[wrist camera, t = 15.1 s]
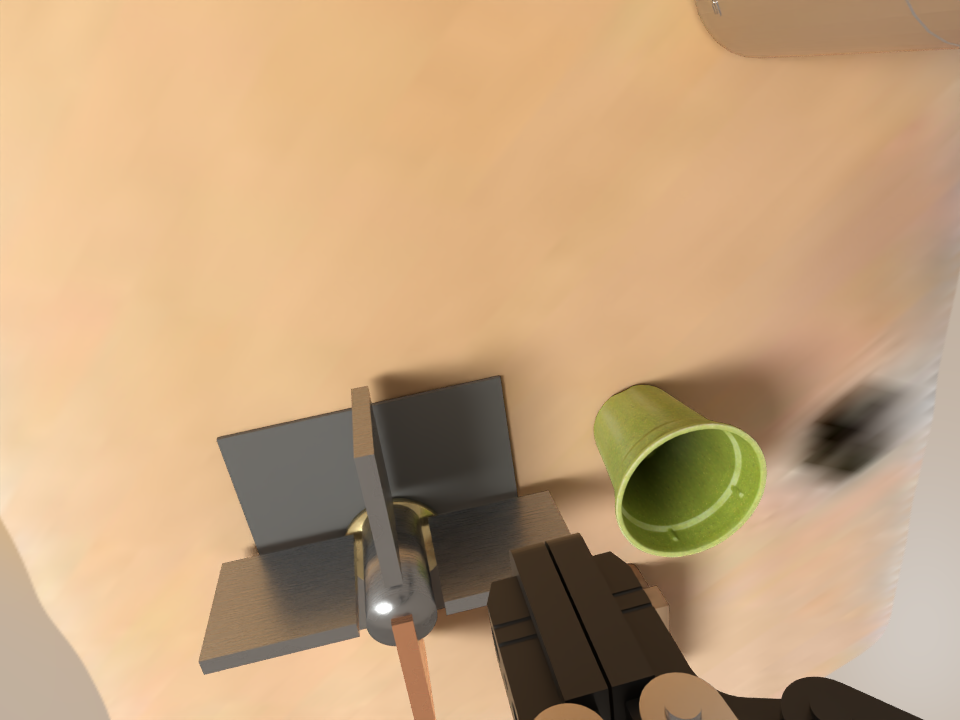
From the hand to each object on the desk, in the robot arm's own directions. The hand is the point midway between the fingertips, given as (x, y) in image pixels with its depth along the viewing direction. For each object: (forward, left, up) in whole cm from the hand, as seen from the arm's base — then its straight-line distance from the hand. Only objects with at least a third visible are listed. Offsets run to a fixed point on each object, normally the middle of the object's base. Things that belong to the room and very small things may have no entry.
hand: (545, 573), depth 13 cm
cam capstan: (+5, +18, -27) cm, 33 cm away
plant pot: (-13, +15, -27) cm, 34 cm away
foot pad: (+5, +18, -27) cm, 33 cm away
